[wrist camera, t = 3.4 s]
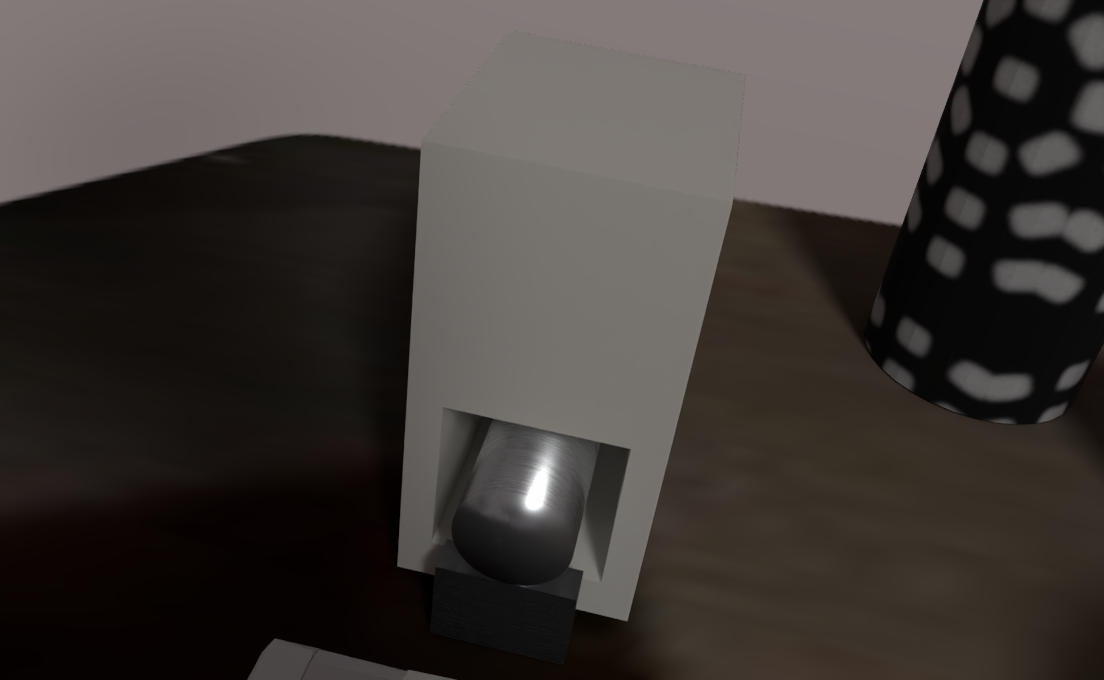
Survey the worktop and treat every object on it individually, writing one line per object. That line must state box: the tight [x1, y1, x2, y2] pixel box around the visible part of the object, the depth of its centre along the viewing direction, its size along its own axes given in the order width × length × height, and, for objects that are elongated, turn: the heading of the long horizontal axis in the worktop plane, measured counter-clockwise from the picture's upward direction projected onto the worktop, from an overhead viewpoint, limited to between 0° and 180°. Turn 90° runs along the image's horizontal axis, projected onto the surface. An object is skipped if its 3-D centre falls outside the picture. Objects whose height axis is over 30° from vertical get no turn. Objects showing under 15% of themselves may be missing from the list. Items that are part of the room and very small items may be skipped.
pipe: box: [430, 418, 601, 665], centre depth 33 cm, size 23×5×8 cm, turn 168°
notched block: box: [397, 30, 746, 621], centre depth 27 cm, size 8×6×12 cm
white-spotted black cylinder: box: [864, 0, 1104, 424], centre depth 35 cm, size 8×8×20 cm
